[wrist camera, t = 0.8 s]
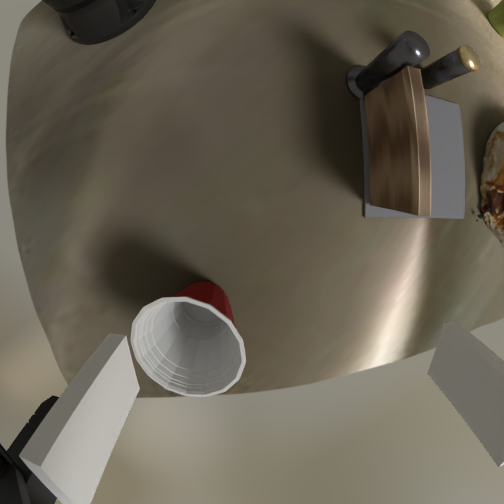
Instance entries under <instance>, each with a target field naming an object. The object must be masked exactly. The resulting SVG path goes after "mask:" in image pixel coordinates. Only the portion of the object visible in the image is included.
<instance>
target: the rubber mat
mask: <svg viewBox="0 0 504 504" xmlns="http://www.w3.org/2000/svg"><path fill="white" fill-rule="evenodd" d="M359 102H360V112H361V124H362V139H363V159H364V217H408V218H457V219H464V211H465V162H464V145H463V133H462V124H461V116H460V108H459V105H458V104H455V103H452V102H449V101H445V100H442V99H438V98H434V97H431V96H427V95H425V102H426V109H427V118H428V127H429V139H430V155H431V216H416V215H412V214H408V213H404V212H400V211H395V210H390V209H386V208H381V207H376V206H371V205H370V172H369V147H368V131H367V118H366V107H365V100H362V99H359Z"/></svg>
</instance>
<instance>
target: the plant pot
mask: <svg viewBox="0 0 504 504" xmlns="http://www.w3.org/2000/svg"><path fill="white" fill-rule="evenodd" d="M488 19H489V21H490V23H491V25H492V26H493V28H494V29H495V30H497V31H498V33H499V34H500V35H501V36H502V37H504V0H502V1H501V2H500V3H499V4H498V5H497V6H496V7H495V8H493V9H492V10H491V11H490V12H489V13H488Z"/></svg>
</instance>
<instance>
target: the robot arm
mask: <svg viewBox="0 0 504 504" xmlns="http://www.w3.org/2000/svg"><path fill="white" fill-rule="evenodd" d="M42 1H44V2H45V3H46V4H48V5H49V6H51V7H52V8H53V9H55V10H56V11H57V12H58V13H59V16H60V18H61V20H62V23H63V25H64V28H65V30H66V32H67V34H68V35H69V37H70V38H72V39H73V40H74V41H76V42H78V43H80V44H86V45H91V44H98V43H102V42H105V41H108V40H110V39H112V38H115V37H117V36H118V35H120V34H122V33H124V32H125V31H127V30H128V29H130V28H131V27H133V26H134V25H135V24H136V23H138V22H139V21H140V20H141V19H142V18H143V17H144V16H145V15H146V14H147V13H148V11H149V10H150V9H151V8H152V6H153V5H154V3H155V1H156V0H42ZM428 375H429V376H430V377H431V378H432V380H433V381H434V382H435V383H436V385H438V387H439V388H440V390H441V391H442V392H443V393H444V394H445V396H446V397H447V398H448V399H449V401H450V402H451V403H452V405H453V406H454V407H455V409H456V410H457V411H458V412H459V414H460V415H461V416H462V418H463V419H464V420H465V422H466V423H467V424H468V425H469V427H470V428H471V429H472V431H473V432H474V434H475V435H476V436H477V438H478V439H479V440H480V442H481V443H482V444H483V446H484V447H485V448H486V450H487V451H488V453H489V454H490V456H491V457H492V459H493V460H494V461H495V463H496V464H497V466H498V467H500V466H502V465H503V464H504V361H503V360H502V359H501V358H500V357H498V356H497V355H496V354H495V353H494V352H493V351H491V350H490V349H489V348H488V347H487V346H485V345H484V344H483V343H482V342H481V341H479V340H478V339H477V338H476V337H474V336H473V335H472V334H471V333H470V332H468V331H467V330H466V329H465V328H463V327H462V326H461V325H460V324H458V323H457V322H456V321H452V322H447V323H443V327H442V330H441V334H440V337H439V341H438V344H437V347H436V350H435V353H434V356H433V360H432V362H431V365H430V368H429V371H428ZM139 389H140V388H139V385H138V381H137V378H136V374H135V370H134V367H133V363H132V359H131V355H130V350H129V346H128V342H127V337H126V335H119V334H108V336H107V337H106V338H105V339H104V340H103V342H102V343H101V344H100V345H99V347H98V348H97V349H96V350H95V352H94V353H93V354H92V355H91V357H90V358H89V359H88V360H87V362H86V363H85V364H84V366H83V367H82V368H81V369H80V371H79V372H78V373H77V375H76V376H75V377H74V379H73V380H72V381H71V382H70V384H69V385H68V387H67V388H66V389H65V390H64V392H63V393H62V395H61V396H60V397H56V396H51V397H50V398H49V399H47V400H46V401H44V402H43V403H42V404H41V405H40V406H39V407H38V409H37V410H36V411H35V415H32V417H31V418H30V419H29V423H27V424H26V425H25V426H24V428H23V429H22V431H21V432H20V433H19V434H18V436H17V437H16V439H15V440H14V442H13V443H12V444H11V446H10V448H9V449H8V450H7V451H6V450H5V449H4V448H3V446H2V445H1V444H0V504H54V503H55V501H56V499H58V500H59V501H60V502H61V503H62V504H91V501H92V498H93V496H94V493H95V491H96V488H97V486H98V483H99V481H100V478H101V476H102V474H103V471H104V469H105V466H106V464H107V461H108V459H109V456H110V454H111V452H112V450H113V447H114V445H115V443H116V440H117V438H118V436H119V433H120V431H121V429H122V427H123V424H124V422H125V420H126V418H127V415H128V413H129V411H130V409H131V407H132V404H133V402H134V400H135V398H136V396H137V394H138V391H139Z"/></svg>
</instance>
